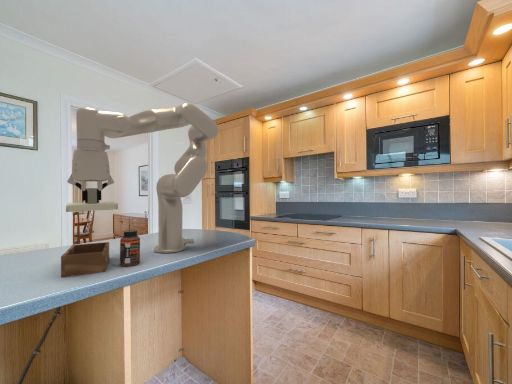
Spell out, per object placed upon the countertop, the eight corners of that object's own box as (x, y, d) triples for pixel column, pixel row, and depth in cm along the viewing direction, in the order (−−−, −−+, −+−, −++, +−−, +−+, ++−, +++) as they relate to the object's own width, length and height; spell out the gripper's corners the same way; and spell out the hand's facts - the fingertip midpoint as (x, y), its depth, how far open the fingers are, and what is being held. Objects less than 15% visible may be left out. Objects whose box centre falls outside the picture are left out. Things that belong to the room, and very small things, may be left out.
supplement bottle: (131, 267, 75) (131, 232, 75) (115, 266, 76) (115, 231, 76) (143, 261, 81) (143, 229, 81) (128, 260, 82) (129, 228, 82)
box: (72, 262, 80) (72, 245, 80) (109, 258, 85) (109, 242, 85) (60, 277, 66) (60, 256, 66) (105, 271, 71) (105, 251, 71)
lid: (68, 208, 80) (68, 188, 80) (111, 206, 88) (111, 188, 88) (66, 211, 66) (65, 188, 66) (118, 209, 74) (117, 187, 74)
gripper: (117, 151, 85) (118, 201, 85) (60, 146, 75) (61, 203, 75) (120, 148, 79) (121, 202, 79) (58, 142, 69) (59, 204, 69)
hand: (92, 202), depth 77 cm, fingers closed on lid, 2 cm apart
